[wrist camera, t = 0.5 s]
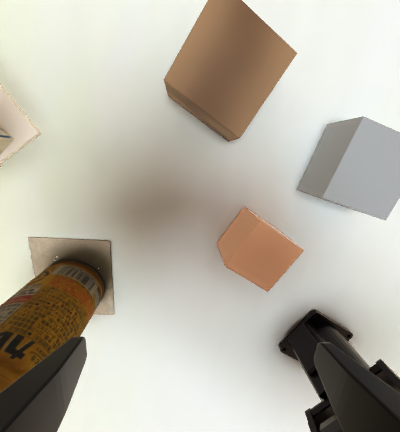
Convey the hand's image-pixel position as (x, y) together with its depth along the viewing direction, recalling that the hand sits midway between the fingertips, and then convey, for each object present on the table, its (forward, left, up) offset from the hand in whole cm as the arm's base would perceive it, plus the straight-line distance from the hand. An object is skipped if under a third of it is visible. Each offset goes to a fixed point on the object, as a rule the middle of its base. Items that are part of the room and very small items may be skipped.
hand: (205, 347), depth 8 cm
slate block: (-8, -13, -13) cm, 19 cm away
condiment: (+7, +10, -13) cm, 18 cm away
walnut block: (+5, -12, -13) cm, 18 cm away
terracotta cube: (-5, -3, -13) cm, 14 cm away
